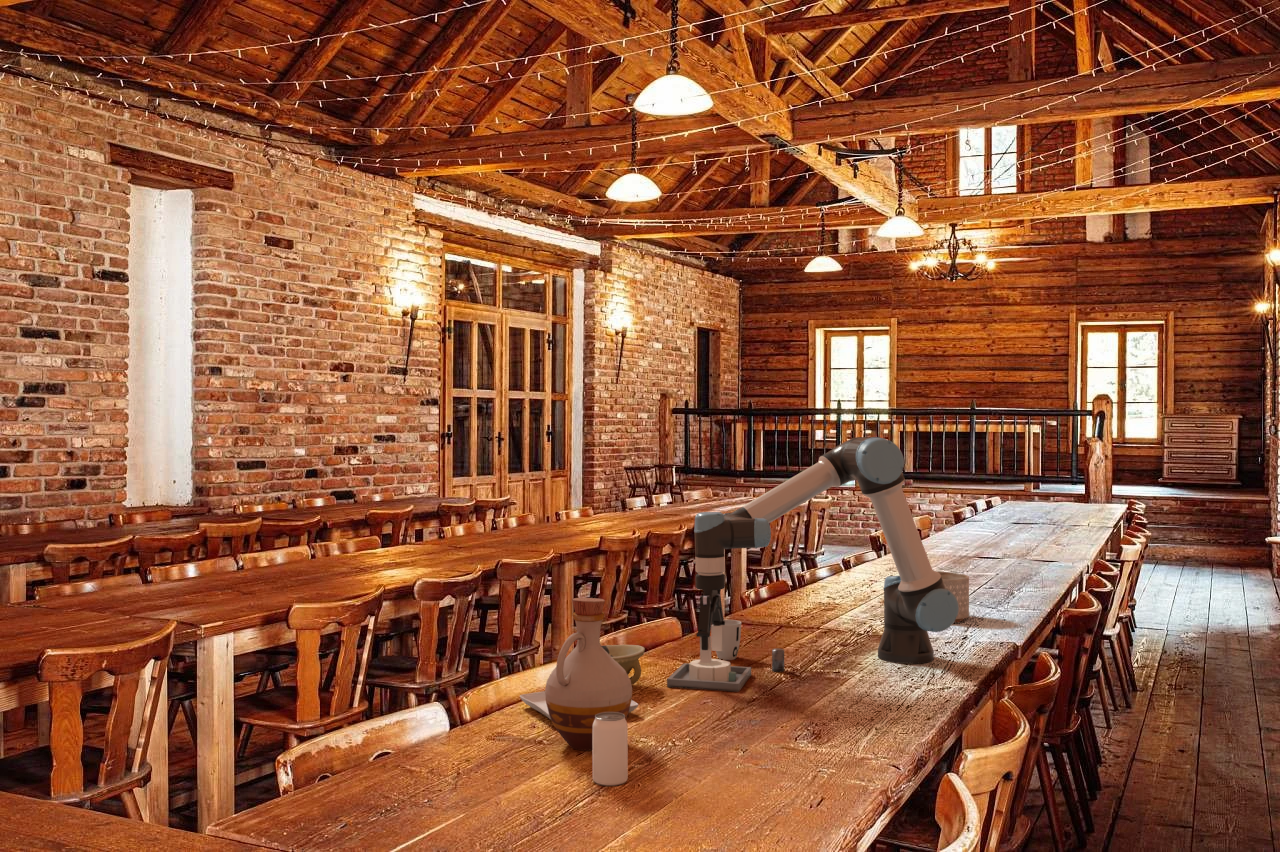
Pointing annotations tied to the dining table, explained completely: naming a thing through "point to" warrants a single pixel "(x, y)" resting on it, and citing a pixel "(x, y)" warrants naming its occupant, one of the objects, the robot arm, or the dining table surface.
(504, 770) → the dining table surface
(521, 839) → the dining table surface
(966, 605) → the planter
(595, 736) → the can
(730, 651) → the cup
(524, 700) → the salad plate
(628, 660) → the bowl
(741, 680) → the tray
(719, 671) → the ring
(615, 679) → the jug
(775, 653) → the capsule
